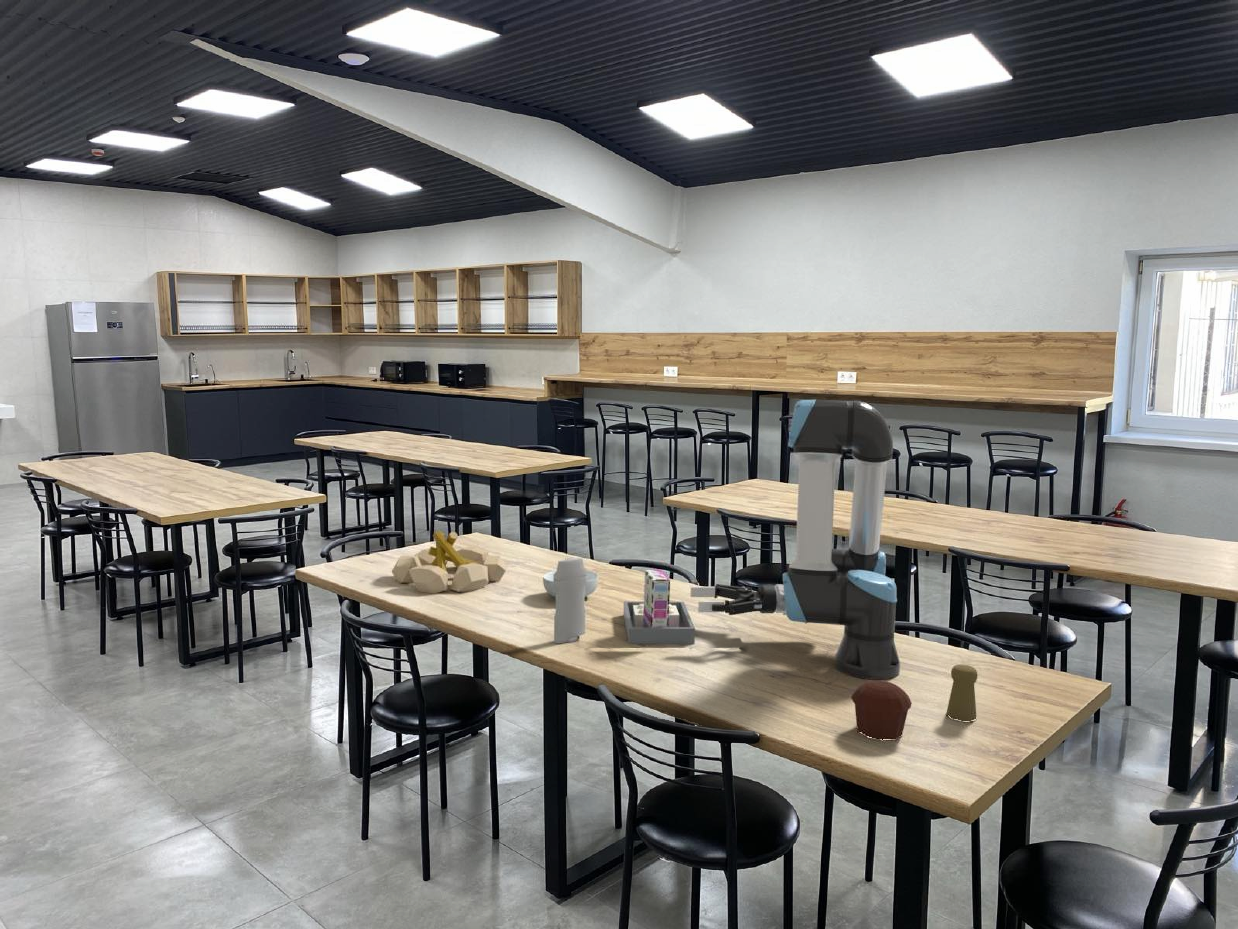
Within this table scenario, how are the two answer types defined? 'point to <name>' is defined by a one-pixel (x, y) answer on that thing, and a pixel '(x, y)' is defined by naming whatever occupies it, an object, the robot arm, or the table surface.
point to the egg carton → (639, 611)
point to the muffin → (881, 709)
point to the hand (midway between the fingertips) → (694, 599)
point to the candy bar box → (656, 599)
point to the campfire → (431, 567)
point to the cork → (963, 693)
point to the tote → (659, 628)
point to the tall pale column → (569, 600)
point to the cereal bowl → (589, 585)
